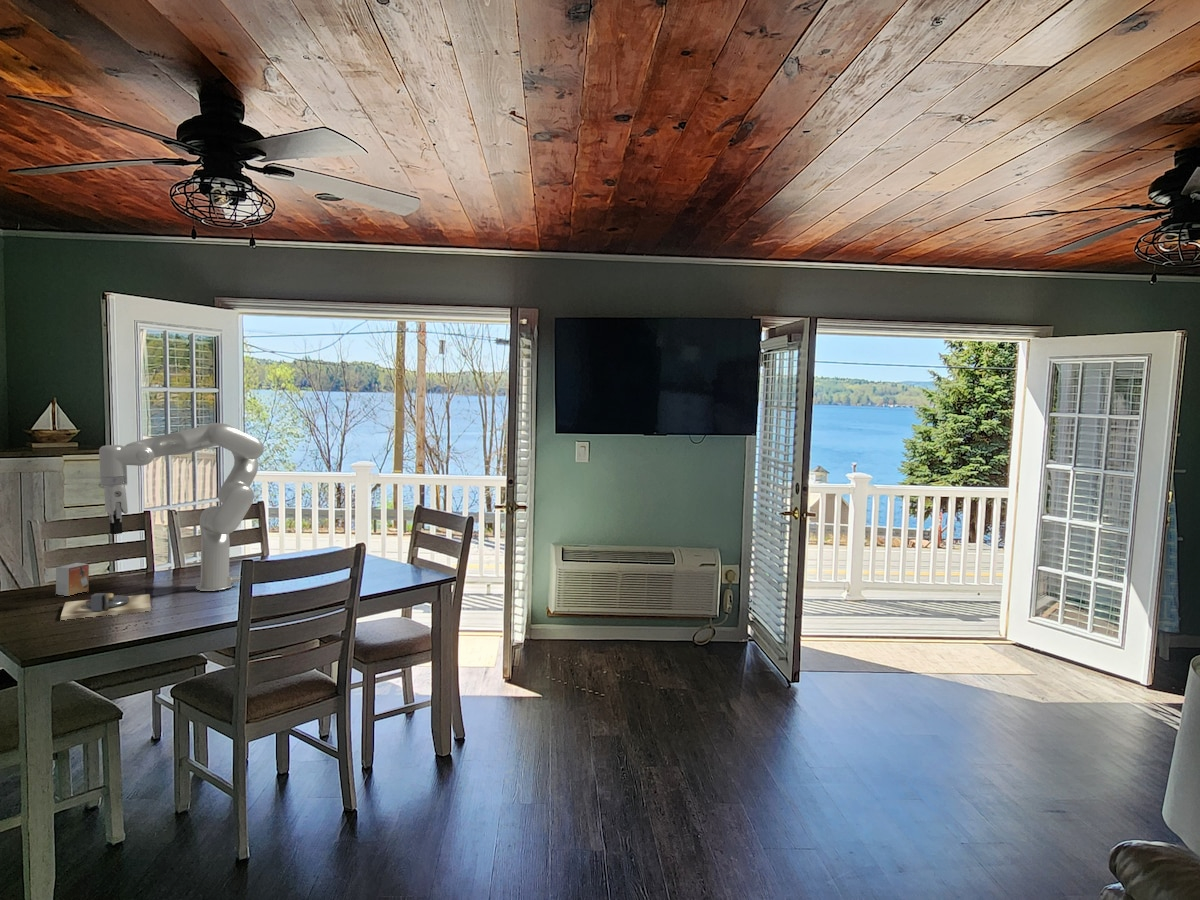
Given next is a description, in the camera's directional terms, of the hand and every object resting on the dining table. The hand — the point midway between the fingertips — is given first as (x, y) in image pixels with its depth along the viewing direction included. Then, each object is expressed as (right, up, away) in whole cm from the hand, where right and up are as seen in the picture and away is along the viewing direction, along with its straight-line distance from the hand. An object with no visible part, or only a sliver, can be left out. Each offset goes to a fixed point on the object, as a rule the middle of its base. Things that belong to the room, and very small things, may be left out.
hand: (116, 533), depth 237 cm
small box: (-23, -23, +10) cm, 35 cm away
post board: (+1, -25, -5) cm, 25 cm away
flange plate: (+1, -23, -6) cm, 24 cm away
